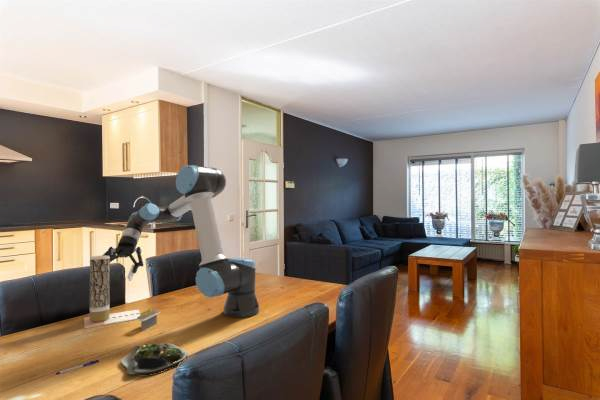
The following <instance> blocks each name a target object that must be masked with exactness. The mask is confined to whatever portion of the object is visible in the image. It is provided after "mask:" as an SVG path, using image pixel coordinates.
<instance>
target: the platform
mask: <svg viewBox="0 0 600 400" xmlns="http://www.w3.org/2000/svg"><path fill="white" fill-rule="evenodd" d="M160 313H161V311H160V310H155V309H154V308H153V309H151V308H148V309H147V310H145V311H142V312H140V316H139V317H137V320H136V321H139V322H140V325H141V326H140V329H141V332H144V331H146V330H147V329H150V328H151V327H154V326H155V325H157V324H158V314H160Z"/></svg>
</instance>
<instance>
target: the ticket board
mask: <svg viewBox="0 0 600 400" xmlns="http://www.w3.org/2000/svg"><path fill="white" fill-rule="evenodd" d="M140 313H141V311H140V309H133V310H127V311H121V312H114V313H113V312H112V313H109V318H108V319H107V320H105V321H101V322H91V321H90V316H87V317H83V324H84V325H83V326H84V329H89V328H90V329H91V328H96V327H101V326H108V325H113V324H118V323H119V324H120V323H124V322H130V321H138V320H137V317H139V316H140Z"/></svg>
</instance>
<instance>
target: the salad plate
mask: <svg viewBox="0 0 600 400" xmlns="http://www.w3.org/2000/svg"><path fill="white" fill-rule="evenodd" d="M186 357H187V358H188V351H186V350H185V349H182V348H181V347H179V346H177V345H175V344H173V343H158V344H157V343H151V344H148V345H145V344H143V345H142V346H141V347H140V346H139V345H136V346H134V347H133V349H132V352H130V353H128V354H126V355H125V356H123V358H121V364H122V365H123V367H125V368H126V372H127V374H128V375H134V376H137V375H149V376H151V375H150V374H154V373H158V372H161V371H164V370H166V369H169V368H172V367H174V368H176V367H178V366H177V365H178V364H179V363H180V362H182V361H183V360H184V359H185V358H186ZM187 358H186V359H187ZM175 361H176V362H175ZM173 362H175V363H173ZM172 363H173V364H172ZM175 366H176V367H175ZM172 369H173V368H172ZM169 370H170V369H169ZM166 371H167V370H166ZM164 372H165V371H164ZM161 373H162V372H161ZM158 374H159V373H158ZM154 375H155V374H154Z"/></svg>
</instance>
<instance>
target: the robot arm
mask: <svg viewBox="0 0 600 400" xmlns="http://www.w3.org/2000/svg"><path fill="white" fill-rule="evenodd" d="M226 181H227V179H226V176H225V174H224V173H223V172H222V171H221V170H220V169H218V168H215V167H210V166H209V167H207V166H200V165H193V164H192V165H191V164H190V165H184V166H182V167H181V169H179V171H178V174H177V175H176V179H175V187H176V189H177V191H178V192H179V193H180V194H183V195H182V196H181V197H179V198H177V199H176V200H175V201H173V202H172V203H170V204H169V205H167V206H157V205H156V204H154V203H151V202H150V203H146V204H144V205H143V206H141V208H140V209H139V210H138V211H135V212H132V214H131V215H130V216H129V218H128V221H127V223H126V226H125V228H124V230H123V232H122V235H121V237H120V238H119V242H118V244H117V247H113V246H109V248H108V249H107V250H106V252H104V253H103V254H102V255H101V256H104V255H106V256H110V263H111V262H113V261H114V260H117V259H119V258H122V259H123V258H125V259H126V258H128V257H129V258H130V260H131V262H132V263H133V264H131V267H130V270H129V272H128V275H127V279H128V281H129V282H130V281H132V279H133V276H134V274H136V273H137V271H138V269H139V267H144V262H143V258H142V254H141V253H142V248H141V247H140V246H137V244H138V242H139V240H140V237H141V235H142V232H143V230H144V228H146V227H147V226H148V225H149V224H150V223H163V222H166V223H167V222H171V223H172V222H178V221H180V220H181V219H182V217H183V215H184V214H185V213H187V212H189V211H190V210H191V214H192V217H193V224H194V226H195V227H194V228H195V233H196V236H197V237H196V238H197V242H198V248H199V251H200V255H201V262H200V263H199V264H198V267H199V270H197V272H196V274H195V275H196V276H195V283H196V284H195V285H196V287H197V290H199V292H200V293H201V294H202V295H204V296H205V297H208V298H214V297H220V296H222V295H224V294H227V295H226V300H225V303H224V306H223V314H224V315H225V316H226V317H229V318H241V319H242V318H247V317H248V318H249V317H253V316H256V315H257V314H259V312H260V305H259V302H258V298H257V294H256V262H255V260H254V259H251V258H241V257H230V258H229V257H227V255H225V254H224V251H223V247H222V242H221V237H220V233H219V228H218V223H217V219H216V216H215V215H216V214H215V211H214V206H213V205H214V204H213V201H212V199H213V198H215V197H216V196H219V194H221V193H222V192H223V191H224V190H225V188H226V186H227V182H226ZM134 253H136V256H137V259H138V261H137V260H136V259H135V257H134V256H133V254H134Z"/></svg>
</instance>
